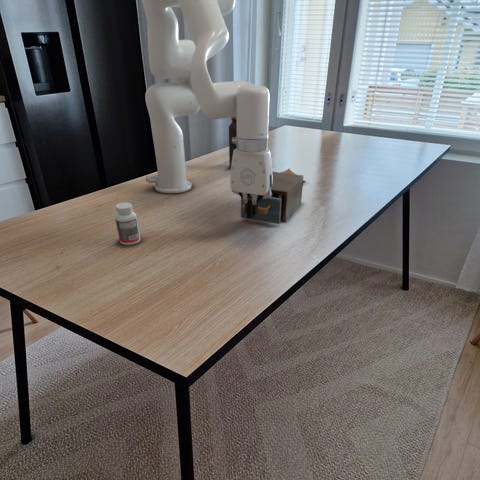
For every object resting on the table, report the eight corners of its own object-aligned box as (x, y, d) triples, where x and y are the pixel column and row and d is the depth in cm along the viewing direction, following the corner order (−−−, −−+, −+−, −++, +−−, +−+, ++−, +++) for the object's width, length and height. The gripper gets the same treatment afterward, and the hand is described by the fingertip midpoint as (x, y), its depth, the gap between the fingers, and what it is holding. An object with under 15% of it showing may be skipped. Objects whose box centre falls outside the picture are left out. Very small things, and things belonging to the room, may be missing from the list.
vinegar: (227, 169, 159) (225, 112, 147) (232, 164, 164) (232, 109, 152) (243, 170, 157) (243, 113, 145) (248, 165, 162) (249, 110, 150)
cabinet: (285, 222, 117) (287, 191, 112) (244, 215, 122) (244, 185, 116) (301, 203, 129) (303, 175, 124) (263, 198, 133) (264, 170, 128)
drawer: (273, 230, 111) (274, 205, 106) (234, 223, 114) (233, 199, 110) (294, 206, 125) (296, 183, 121) (259, 200, 129) (259, 178, 124)
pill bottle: (121, 237, 110) (114, 201, 104) (141, 236, 110) (135, 201, 104) (118, 246, 105) (111, 209, 100) (139, 245, 106) (133, 208, 100)
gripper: (217, 145, 98) (220, 217, 109) (276, 151, 93) (272, 226, 104) (230, 138, 103) (232, 208, 114) (286, 143, 99) (282, 216, 109)
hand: (251, 216), depth 109 cm, fingers closed
